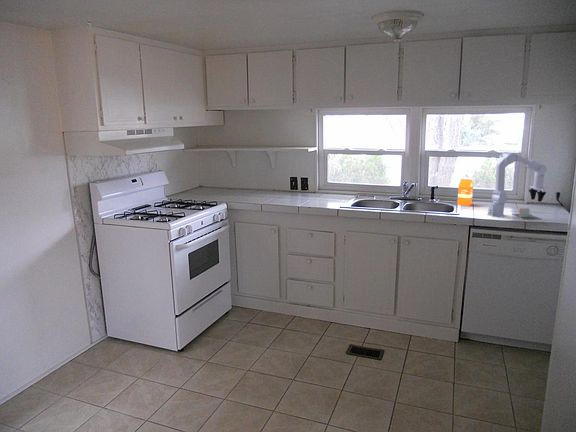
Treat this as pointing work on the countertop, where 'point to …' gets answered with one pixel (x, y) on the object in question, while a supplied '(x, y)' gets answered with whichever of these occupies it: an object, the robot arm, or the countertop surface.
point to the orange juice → (465, 192)
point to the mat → (527, 217)
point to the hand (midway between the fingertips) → (536, 200)
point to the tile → (524, 212)
